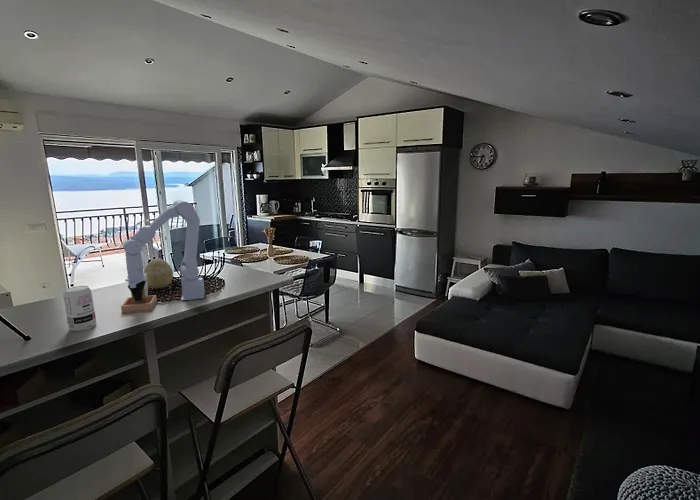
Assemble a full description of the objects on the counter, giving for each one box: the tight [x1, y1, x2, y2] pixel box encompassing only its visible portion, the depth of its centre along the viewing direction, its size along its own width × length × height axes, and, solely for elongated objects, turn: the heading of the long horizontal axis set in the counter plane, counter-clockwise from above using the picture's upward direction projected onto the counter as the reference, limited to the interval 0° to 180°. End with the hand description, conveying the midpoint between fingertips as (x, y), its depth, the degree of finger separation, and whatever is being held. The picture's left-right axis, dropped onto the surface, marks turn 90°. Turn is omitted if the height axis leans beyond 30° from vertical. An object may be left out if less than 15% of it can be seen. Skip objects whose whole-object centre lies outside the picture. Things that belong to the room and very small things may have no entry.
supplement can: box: [62, 285, 97, 332], centre depth 131 cm, size 8×8×15 cm
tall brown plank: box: [130, 289, 146, 303], centre depth 151 cm, size 4×2×7 cm, turn 109°
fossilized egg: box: [143, 257, 174, 290], centre depth 176 cm, size 13×13×15 cm
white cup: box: [126, 273, 149, 297], centre depth 165 cm, size 8×8×10 cm
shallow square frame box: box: [120, 294, 158, 314], centre depth 151 cm, size 11×11×3 cm
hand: (139, 299), depth 151 cm, fingers closed on tall brown plank, 2 cm apart
